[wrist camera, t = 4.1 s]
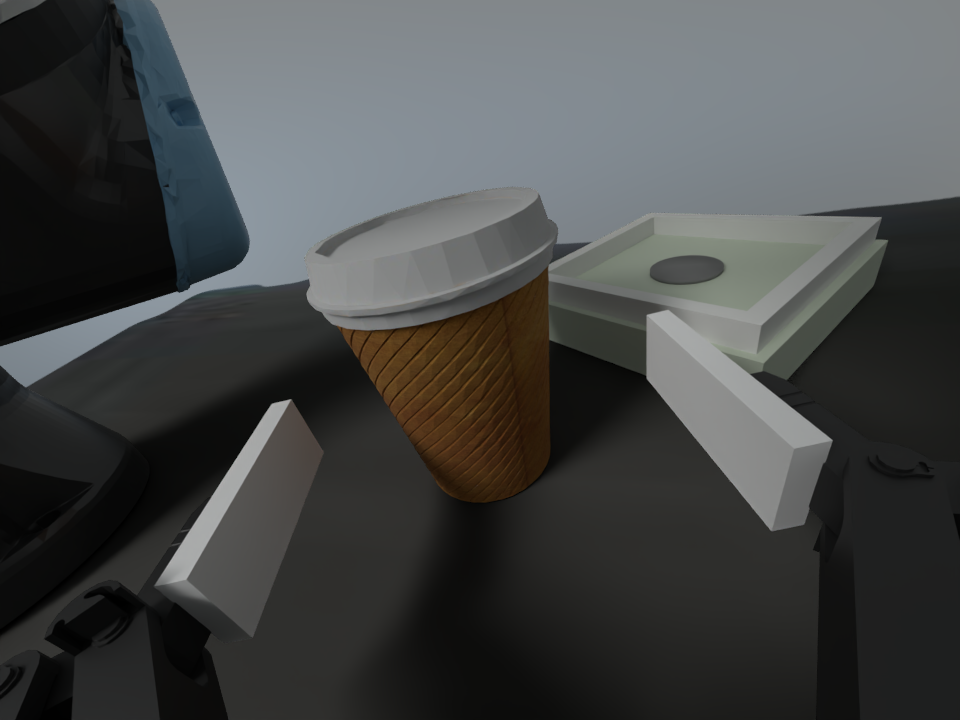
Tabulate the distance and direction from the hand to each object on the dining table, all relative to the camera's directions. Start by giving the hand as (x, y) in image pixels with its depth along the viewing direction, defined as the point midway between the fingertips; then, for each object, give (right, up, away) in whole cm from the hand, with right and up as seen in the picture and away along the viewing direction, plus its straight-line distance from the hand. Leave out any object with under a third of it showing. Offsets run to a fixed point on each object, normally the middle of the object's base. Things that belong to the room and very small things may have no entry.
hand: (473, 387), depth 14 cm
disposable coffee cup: (+1, -4, +6) cm, 7 cm away
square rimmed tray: (+15, +5, +13) cm, 20 cm away
